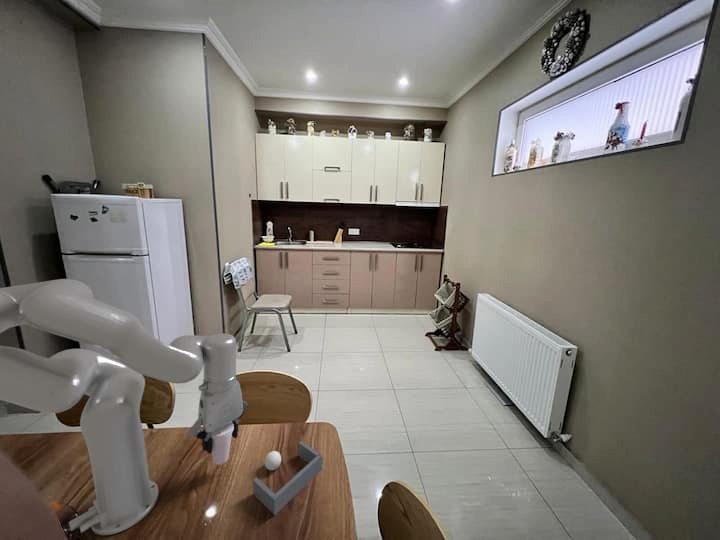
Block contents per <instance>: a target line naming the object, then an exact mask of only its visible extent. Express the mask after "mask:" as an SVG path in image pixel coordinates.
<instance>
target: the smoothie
mask: <svg viewBox="0 0 720 540" xmlns="http://www.w3.org/2000/svg"><path fill="white" fill-rule="evenodd" d="M233 430H234V424H233V422H232V421H231V422H229V423H228V424H226V425H224V426H222V427H220V428H218V429H217V430H215V431H213V432H212V433H211V436H210V438H211V439H212V453H211V455H212V461H213V463H214V465H218V466H220V465H223V464H225V463H226V462H227V461H228V460H229V457H230V450H231V442H232V438H233V436H232V432H233Z"/></svg>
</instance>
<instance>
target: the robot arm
mask: <svg viewBox="0 0 720 540" xmlns="http://www.w3.org/2000/svg"><path fill="white" fill-rule="evenodd" d="M23 325H28V326H31V328H35V329H39V330H40V331H44V332H47V333H50V334H53V335H55V336H58V337H63V338H66V339H69V340H72V341H75V342H78V343H82V344H85V345H88V346H91V347H94V348H97V349H100V350H103V351H106V352H108V353H109V354H110V355H111V356H112V357H113V358H111V357H108V356H106V355H105V354H102V353H99V352H97V351H93V350H90V349H85V348H71V349H69V348H68V349H64V350H62V351H59V352H56V354H53V355H52V356H50V357H44V356H42V355H38V354H35V353H33V352H31V351H28V350H26V349H23V348H18V347H13V346H5V345H4V346H3V345H0V401H2V402H3V401H4V402H7V403H10V404H13V405H17V406H20V407H23V408H27V409H30V410H32V411H37V412H40V413H47V414H58V413H62V412H65V411H67V410H69V409H72V407H74V406H75V405H76V404H77V403H79V402H80V400H81V399H82V398H83V396H84V395H85V396H88V397H89V398H88V400H87V402H86V403H85V406H84V408H83V410H82V412H81V416H80V422H79V425H80V426H79V427H80V431H81V434H82V436H83V438H84V441H85V444H86V446H87V451H88V454H89V455H88V456H89V461H90V462H89V463H90V465H91V472H92V473H91V474H92V478H93V484H94V490H95V497H96V499H94V500H93V502H92V503H93V505H92V506H91V507H89V508H88V511H86V512H83V514H81V515H79V516H77V517H75V518H74V519H72V520H70V521H69V522H68V525H69V528H70V532H72V531H74V530H76V529H77V528H79V530H80V533H81V534H82V533H84V532H85V531H87V530H88V529H91V530H92V532H93V533H94V534H96V535H100V536H109V535H114V534H117V533H118V534H119V533H120V532H123V531H125V530H127V529H129V528H131V527H132V526H134V525H136V524H137V523H139V522H140V521H141V520H143V518H144V517H146V516H147V515H148V514H149V512H151V510H152V509H153V508H154V507H155V505H156V503H157V501H158V499H159V494H160V493H159V487H158V484H157V483H156V482H155V481H153V480H150V474H149V468H148V466H149V465H148V459H147V458H148V457H147V449H146V442H145V435H144V434H145V433H144V428H143V424H142V421H141V417H140V416H141V415H140V413H141V412H140V409H141V408H140V407H141V403H142V398H143V395H144V394H143V393H144V391H145V387H146V379H145V377H148V378H152V379H154V380H159V381H160V382H161V381H162V382H165V383H170V384H178V385H179V384H186V383H189V382H191V381H193V380H195V379H197V377H198V376H199V375H200V374H201V372H202V369H203V379H202V383H201V384H200V385H198V391H199V392H200V397H199V402H198V410H197V411H198V414H197V419H196V421H195V422H194V423H193V425H192V426H191V427H190V429H189V430H188V434H189V435H190V436H191V437H194V438H197V439H199V440H201V446H202V447H201V448H202V450H203V451H204V452H205V451H206V453H208V455H210V454H212V439H211V438H210V436H211V433H212V432H213V431H215V430H217V429H218V428H220V427H222V426H224V425H226V424H228V423H229V422H231V421H232V422H233V424H234V430H233V432H232V438H234V439H237V438H238V432H239V423H241V419H242V417H243V416H244V414H245V412H246V410H247V408H248V406H249V403H248V402H246V401H244V400H243V395H242V389H241V384H240V381H239V380H238V379H237V339H236V338H235V337H234V335H232V334H230V333H216V334H212V335H197V334H196V335H194V334H191V335H187V334H186V335H182V336H178V337H176V338H174V340H172V341H171V342H170V344H168V343H165V342H162V341H161V340H159V339H158V338H156V337H154V336H153V335H152V334H150V333H149V332H148V331H147V329H146V328H145V327H144V326H143V325H142V323H141V321H140V320H139V318H137V316H135V315H134V314H133V313H132V312H129V311H126V310H124V309H121V308H119V307H116V306H114V305H110V304H108V303H106V302H103V301H100V300H97V299H95V298H94V293H93V291H92V289H91V288H90V286H88V285H86V283H84V282H82V281H79V280H77V279H71V278H59V279H52V280H46V281H40V282H34V283H26V284H19V285H14V286H13V285H12V286H7V287H0V334H2V333H3V332H5V331H7V330H8V329H10V328H14V327H17V326H23ZM114 358H115V359H114ZM144 376H145V377H144ZM201 426H202V428H201ZM200 428H201V430H199V429H200Z"/></svg>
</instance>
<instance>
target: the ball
mask: <svg viewBox="0 0 720 540" xmlns="http://www.w3.org/2000/svg"><path fill="white" fill-rule="evenodd" d="M264 458H265V459H264V466H265V468H266V469H267V470H269V471H274V470H277V469H278V468H279V467H280V465H281V463H282V456H281V453H280V452H278V451H275V450H272V451H270V452H269V453H268V454H266V456H265V457H264Z"/></svg>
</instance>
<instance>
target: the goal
mask: <svg viewBox="0 0 720 540" xmlns="http://www.w3.org/2000/svg"><path fill="white" fill-rule="evenodd" d="M298 456H299V457H300V458H301V459H302V460H304V461H305V462H306V463H307V464H306V465H305V466H304V467H303V468H302V469H301V470H300V471H299V472H298V473H296V475H294V476H293V477H292V478H291V479H290V480H289V481H288V482H287V483H286V484H285V485H283V486H282V487H281V488H280V489H279V490H278V491H277V492H276V493H275V492H273V491H272V490H271V489H270V488H269V487H268V486H267V485H266V484H265V483H264V482H263V481H261V480H260V479H259V478H258V477H257V476H255V478H253V479H252V485H253V486H252V487H253V489H252V491H253V495H254V497H256V499H257V500H258V501H260V503H261V504H262V505H264V507H266V508H267V510H268V511H270V513H271V514H272V515H273V516H276V515H277V514H278V513H279V512H280V511H281V510H282V509H283V508H284V507H285V506H286V505H288V503H289V502H290V501H291V500H292V499H294V497H295V496H297V494H298V493H299V492H300V491H301V490H302V489H304V488H305V487H306V485H308V483H309V482H310V481H312V479H314V478H315V477H316V476H317V474H319V473H320V472H321V471H322V470H323V454H321V453H319V452H318V451H317V450H316V449H314V448H312V447H311V446H310V445H308V444H307V443H306V442H304V441H302V440H301V441H299V442H298Z"/></svg>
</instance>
